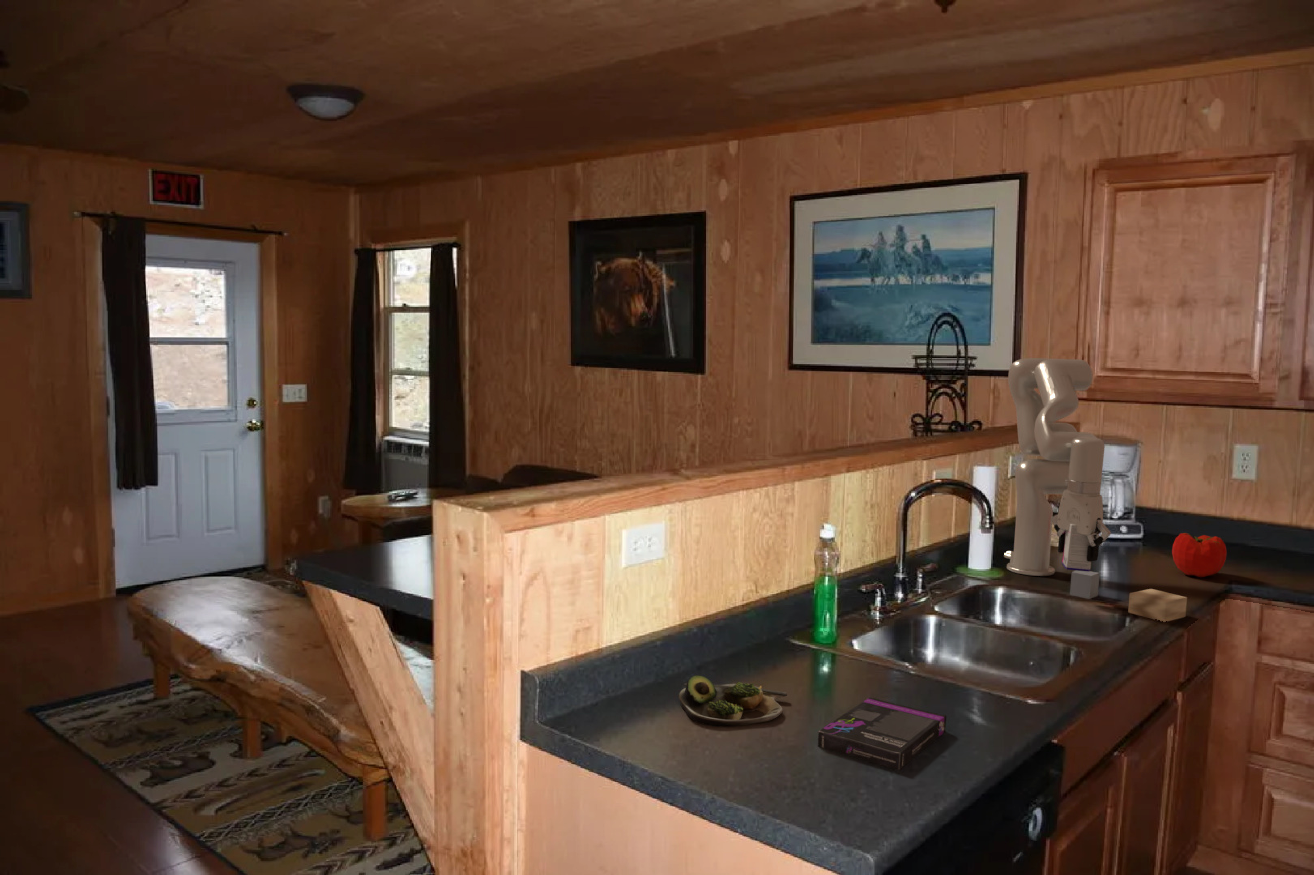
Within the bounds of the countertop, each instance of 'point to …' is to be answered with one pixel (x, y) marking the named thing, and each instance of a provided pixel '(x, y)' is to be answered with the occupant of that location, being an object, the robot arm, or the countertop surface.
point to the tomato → (1199, 554)
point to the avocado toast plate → (727, 702)
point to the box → (882, 732)
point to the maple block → (1157, 605)
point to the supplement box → (1075, 551)
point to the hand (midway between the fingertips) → (1077, 555)
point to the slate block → (1084, 584)
